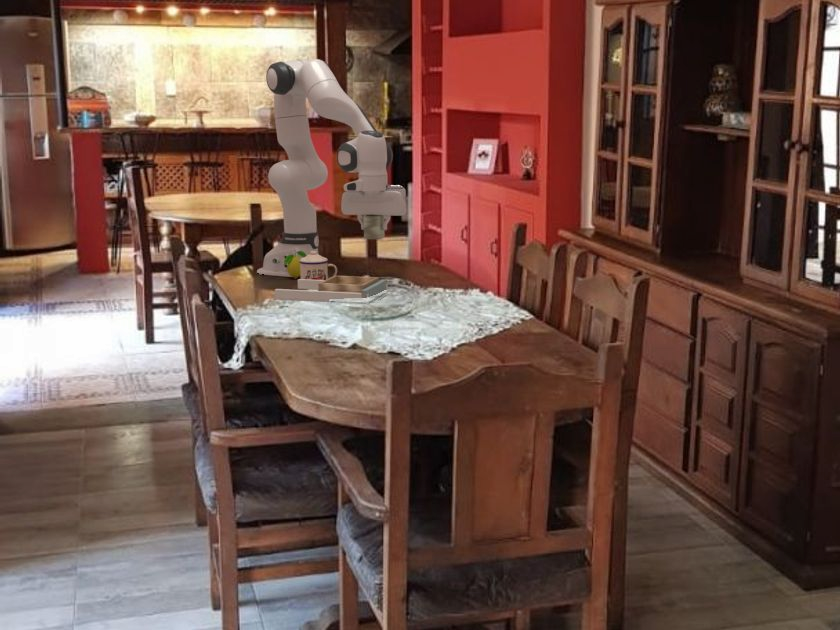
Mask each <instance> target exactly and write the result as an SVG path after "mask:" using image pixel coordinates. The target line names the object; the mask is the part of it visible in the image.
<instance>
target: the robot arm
mask: <svg viewBox="0 0 840 630" xmlns="http://www.w3.org/2000/svg"><path fill="white" fill-rule="evenodd" d="M265 76H266V77H265V78H266V85H267V88H269V90H270V92H271V93H272V94H274V97H273V112H274V115H273V116H274V121H275V128H276V129H275V130H276V137H277V142H278V144H279V146H281V147H282V148H283V149H284V151H285V153H286V154H287V158H288V159H283V160H281V161H279V162H277V163H276V162H275V164H273V165H272V166H271V167H270V169H269V171H268V175H267V178H268V183H269V185H270V186H271V188H272V189H273V190H274V191H275V192H276V193H277V195H278V198H279V200H280V203H281V209H282V215H283V229H284V231H283V232H281V233H280V234H278V235H277V239H278V240H279V243H278V244H277V245H275V246H274V247H273V248H272V249H271V250H270V251H268V252H267V253H266V254H265V256H264V257H263V265H262V267H260V268H258V269H257V270H256V274H257V273H259V274H258V275H262V274H264V276H275V277H276V276H277V277H289V278H294V277H293V276H291V275H289V273H288V271H287V264H288V263H287V264H284V260H285V258H286V257H287V256H288V255H293V257H294V256H295V253H296V252H299V251H303V252H304V253H305V254H306V255H310V252H311V251H316V252H317V254H318V255H320V254H319V242H320V241H319V232H318V230H317V229H318V228H317V210H316V207H315V206H314V205H313V204H312V202H310V199H309V196H308V191H310V190H311V191H312V190H315V189H318V188H320V187H321V186H323V185H324V184H325V183H326V182H327V179H328V177H329V172H328V168H327V165H326V164H325V162H324V161H323V160H322V159H320V157H319V155H318V153H317V151H316V148H315V146H314V143H313V139H312V136H311V130H310V122H309V116H308V109H307V103H306V102H307V101H308V103H309V105H310V106H311V108H312V109H313V111H314V112H315V113H316V114H317V115H318V116H320V117H322V118H325V119H329V120H333V121H337V122H340V123H342V124H345V125H348V127H351V129H352V130H353V131H354V132H355V134H356V135H357V136H356V137H355V138H353V139H351V140H349V141H346V142H343V143H342V144H340V146H339V147H338V150H337V155H336V159H337V164H338V166H339V168H340V169H341V170H342V171H343V172H346V173H353V174H354V173H358V179H354V180H353V181H351V182H347V183H345V184H343V191H345V192H343V193H342V197H341V202H340V203H341V204H340V207H341V208H340V210H341V212H342V214H343V215H346V216H350V215H351V216H352V215H353V216H357V217H356V218H357V220H358V222H359V224H360V229H361V230H363V231H364V216H366V215H384V224H381V230H384V231H387V230H388V223H389V222H390V220H391V216H392V217H393V216H397V217H398V216H399V217H401V216H404V215H405V214H406V213H407V204H406V202H407V201H406V196H407V190H406V188H405V187H403V186H402V185H400V184H396V185H394V184H388V182H389V181H388V171H387V170H388V169H389V168H390V167H391V164H392V162H393V158H394V153H393V150H392V147H391V146H390V144H389V143H388V142H387V141H386V137H385V135H384V134H383V133H382V132H380V131H377V129H376V127H375V126H374V125H373V123H372V121H370V119H369V117H368V115H366V113H365V112H364V110H363V109H362V108H361V106H360V105H359V104H358V103H357V102H355V101H354V100H353V99H352V98H351V97H350V96H349V95H347V93H346V92H345V91H344V90H343V88H342V87H341V86H340V84H339V82H338V80H337V78H336V77H335V75H334V73H333V72H332V70H331V68H330V67H329V64H328V63H327V62H326V61H323V60H322V59H318V58H313V59H301V58H299V59H294V60H287V61H286V60H285V61H277V62H274V63H271V64H270V65H269V66H268V68H267V71H266V75H265ZM294 249H295V250H294ZM295 251H296V252H295ZM296 256H297V257H298V258H300V259H301V258H303V257H301V256H300V255H298V254H297V253H296Z"/></svg>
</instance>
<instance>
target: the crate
mask: <svg viewBox="0 0 840 630" xmlns="http://www.w3.org/2000/svg"><path fill="white" fill-rule="evenodd" d="M330 277H331V276H330ZM378 281H380V280H379V277H378V276H377V277H376V276H373V277H372V276H356V275H355V276H354V275H353V276H352V275H350V276H349V275H336V276H334V277H331V278H329V279H327V280H325V281H323V282H321V283H318V290H317V291H331V292H352V293H361V290H363V289H365V288H367V287H369V286H371V285H373V284H375V283H376V282H378Z"/></svg>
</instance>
